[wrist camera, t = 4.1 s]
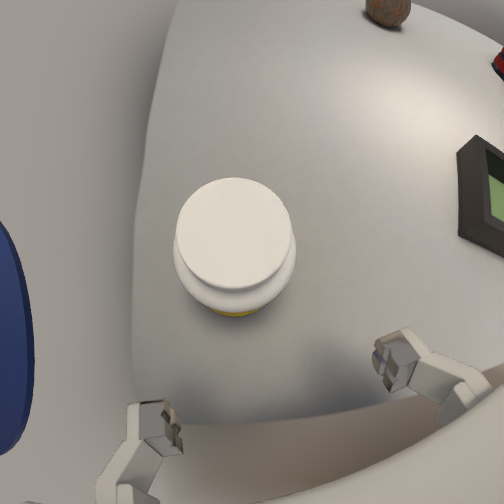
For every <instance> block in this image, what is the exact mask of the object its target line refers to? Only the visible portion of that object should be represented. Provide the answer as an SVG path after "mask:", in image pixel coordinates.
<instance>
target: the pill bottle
mask: <svg viewBox="0 0 504 504" xmlns="http://www.w3.org/2000/svg"><path fill="white" fill-rule="evenodd" d="M173 261H174V266H175V269H176V272H177V275H178V277H179V279H180V281H181V283H182V284H183V286H184V287H185V289H186V290H187V291H188V293H189V294H190V295H192V296H193V297H194V298H195V299H196V300H197V301H199V302H200V303H202V304H203V305H205V306H206V307H208V308H209V309H211V310H213V311H214V312H217V313H219V314H222V315H225V316H230V317H239V316H246V315H249V314H252V313H254V312H256V311H258V310H259V309H261V308H262V307H264V306H265V305H266V304H268V303H269V302H270V301H272V300H273V299H274V298H275V297H276V296H277V295H279V293H280V292H281V291H282V290H283V289H284V287H285V286H286V284H287V283H288V281H289V279H290V277H291V275H292V273H293V269H294V266H295V262H296V241H295V236H294V233H293V230H292V226H291V221H290V217H289V214H288V212H287V210H286V208H285V206H284V204H283V203H282V201H281V200H280V199H279V198H278V197H277V196H276V195H275V194H274V193H273V192H272V191H271V190H270V189H268V188H267V187H265V186H264V185H262V184H260V183H257V182H255V181H252V180H248V179H243V178H224V179H219V180H216V181H213V182H210V183H208V184H206V185H204V186H203V187H201V188H200V189H198V190H197V191H196V192H194V193H193V194H192V195H191V196H190V198H189V199H188V200H187V201H186V203H185V204H184V206H183V207H182V209H181V212H180V214H179V217H178V220H177V225H176V234H175V238H174V243H173Z"/></svg>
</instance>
